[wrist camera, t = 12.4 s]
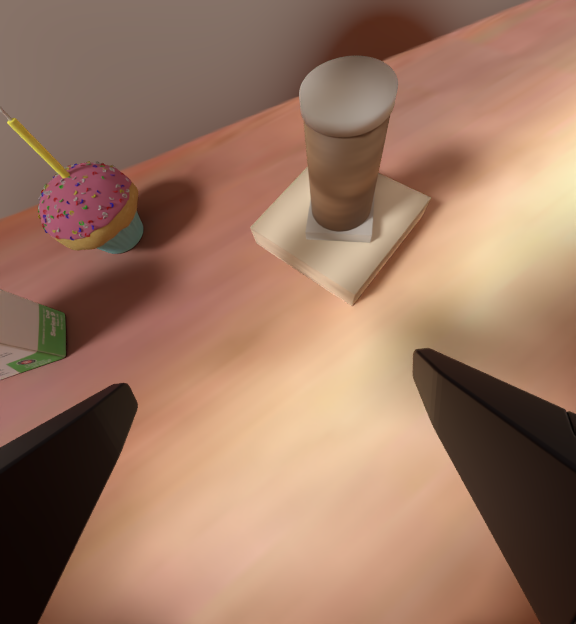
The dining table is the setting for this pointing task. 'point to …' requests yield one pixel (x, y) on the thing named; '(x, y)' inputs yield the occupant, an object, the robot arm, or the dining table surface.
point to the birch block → (339, 254)
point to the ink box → (29, 335)
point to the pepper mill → (345, 143)
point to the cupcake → (87, 203)
